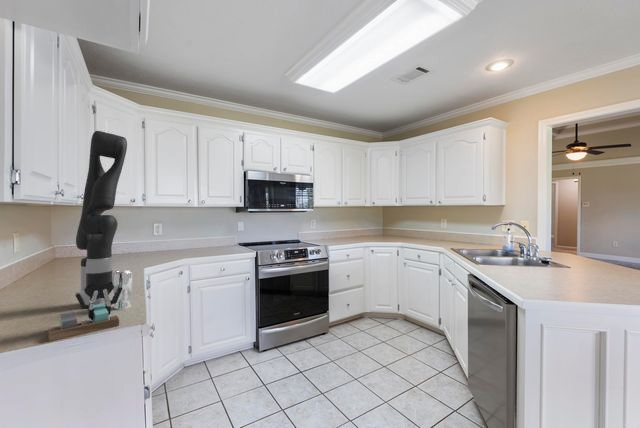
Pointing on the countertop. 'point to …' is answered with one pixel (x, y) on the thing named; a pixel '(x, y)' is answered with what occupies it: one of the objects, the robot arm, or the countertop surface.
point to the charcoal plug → (68, 320)
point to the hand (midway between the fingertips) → (99, 317)
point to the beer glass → (123, 288)
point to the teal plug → (100, 313)
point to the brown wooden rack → (82, 328)
